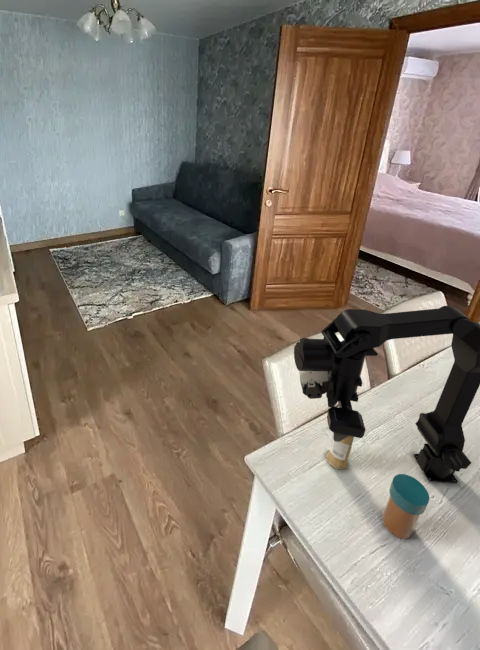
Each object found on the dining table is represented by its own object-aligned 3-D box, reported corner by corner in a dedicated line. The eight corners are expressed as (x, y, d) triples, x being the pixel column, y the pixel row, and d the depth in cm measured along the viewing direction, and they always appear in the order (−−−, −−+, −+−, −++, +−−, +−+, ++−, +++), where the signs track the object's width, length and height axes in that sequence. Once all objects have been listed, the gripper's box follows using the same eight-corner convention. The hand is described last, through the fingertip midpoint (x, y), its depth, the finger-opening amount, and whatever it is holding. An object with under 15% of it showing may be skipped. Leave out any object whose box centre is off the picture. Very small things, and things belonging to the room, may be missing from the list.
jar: (403, 511, 73) (416, 478, 69) (416, 540, 69) (432, 506, 65) (377, 509, 74) (389, 476, 70) (389, 537, 69) (403, 503, 65)
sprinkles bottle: (350, 463, 83) (362, 423, 78) (339, 473, 81) (350, 432, 76) (333, 448, 87) (343, 409, 82) (322, 458, 84) (332, 418, 79)
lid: (414, 484, 71) (418, 475, 70) (432, 516, 65) (436, 507, 64) (383, 481, 71) (387, 472, 70) (398, 513, 66) (402, 504, 64)
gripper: (302, 335, 82) (293, 385, 88) (308, 394, 65) (297, 451, 71) (353, 342, 79) (341, 394, 85) (373, 406, 62) (356, 465, 68)
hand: (333, 422), depth 77 cm, fingers open, 9 cm apart
